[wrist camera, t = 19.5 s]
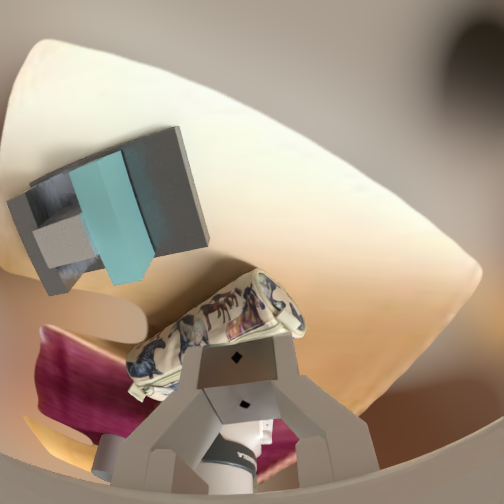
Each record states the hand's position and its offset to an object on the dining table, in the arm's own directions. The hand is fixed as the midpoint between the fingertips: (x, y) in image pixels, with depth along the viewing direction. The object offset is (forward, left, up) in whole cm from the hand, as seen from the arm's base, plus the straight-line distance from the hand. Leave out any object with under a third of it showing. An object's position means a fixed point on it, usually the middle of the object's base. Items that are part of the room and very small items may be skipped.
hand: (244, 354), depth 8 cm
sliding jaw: (0, +12, -21) cm, 24 cm away
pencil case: (-16, +8, -24) cm, 30 cm away
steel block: (0, +17, -21) cm, 27 cm away
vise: (0, +14, -23) cm, 27 cm away
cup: (-50, +41, -23) cm, 69 cm away
